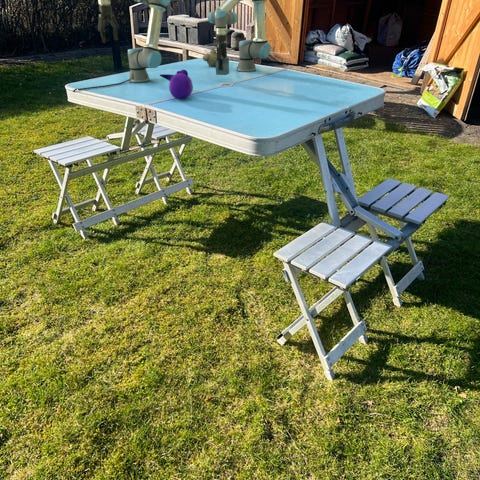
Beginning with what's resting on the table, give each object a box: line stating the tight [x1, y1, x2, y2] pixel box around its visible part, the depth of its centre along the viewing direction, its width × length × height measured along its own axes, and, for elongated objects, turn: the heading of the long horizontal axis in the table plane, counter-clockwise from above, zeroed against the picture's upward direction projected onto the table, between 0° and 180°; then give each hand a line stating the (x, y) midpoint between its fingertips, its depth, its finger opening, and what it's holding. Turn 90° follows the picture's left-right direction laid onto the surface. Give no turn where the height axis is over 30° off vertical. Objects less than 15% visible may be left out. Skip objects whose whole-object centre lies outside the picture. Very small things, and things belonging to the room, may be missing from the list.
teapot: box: [202, 47, 217, 67], centre depth 386 cm, size 21×12×15 cm, turn 120°
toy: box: [159, 69, 194, 100], centre depth 286 cm, size 16×18×27 cm
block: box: [215, 56, 230, 76], centre depth 325 cm, size 6×8×11 cm
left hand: (110, 41), depth 294 cm, fingers open, 13 cm apart
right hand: (222, 69), depth 326 cm, fingers closed on block, 6 cm apart
